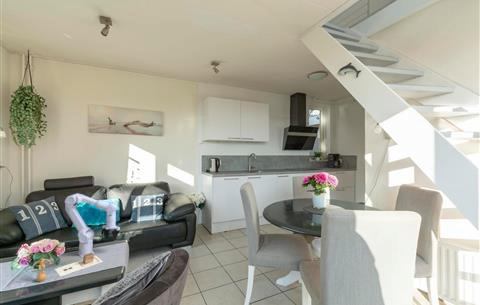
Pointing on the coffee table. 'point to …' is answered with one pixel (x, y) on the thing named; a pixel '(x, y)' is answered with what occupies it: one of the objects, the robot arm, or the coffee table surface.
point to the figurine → (41, 275)
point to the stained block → (88, 258)
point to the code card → (76, 266)
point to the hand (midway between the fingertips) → (110, 239)
